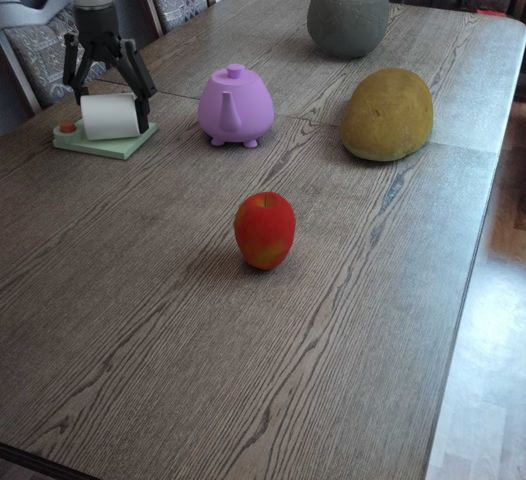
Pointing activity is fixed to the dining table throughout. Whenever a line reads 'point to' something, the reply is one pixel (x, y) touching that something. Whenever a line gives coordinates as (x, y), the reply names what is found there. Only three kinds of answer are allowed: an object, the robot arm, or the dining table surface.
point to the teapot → (235, 106)
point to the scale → (100, 142)
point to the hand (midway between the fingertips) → (116, 126)
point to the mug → (109, 116)
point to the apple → (265, 229)
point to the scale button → (67, 126)
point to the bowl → (347, 25)
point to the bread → (388, 116)
